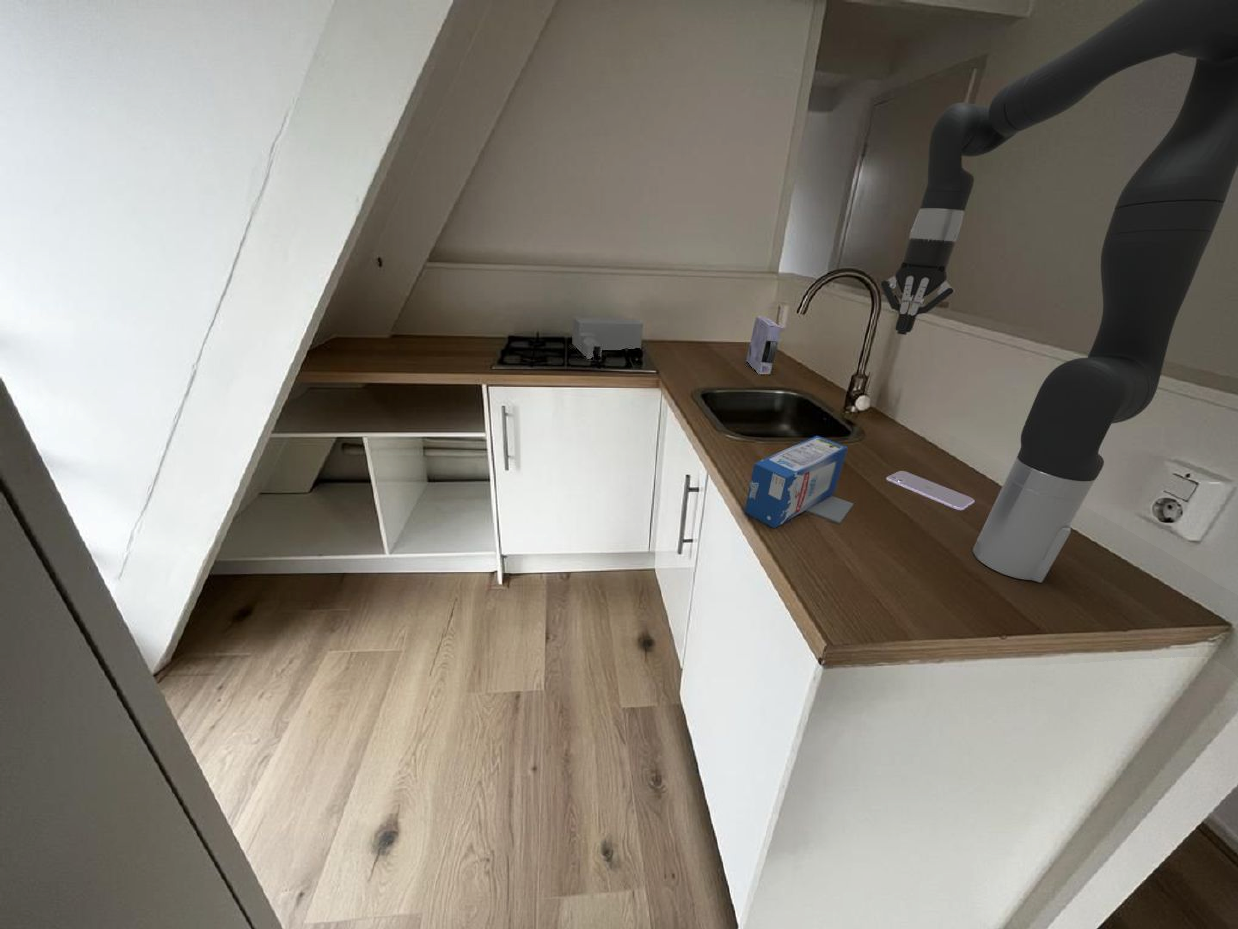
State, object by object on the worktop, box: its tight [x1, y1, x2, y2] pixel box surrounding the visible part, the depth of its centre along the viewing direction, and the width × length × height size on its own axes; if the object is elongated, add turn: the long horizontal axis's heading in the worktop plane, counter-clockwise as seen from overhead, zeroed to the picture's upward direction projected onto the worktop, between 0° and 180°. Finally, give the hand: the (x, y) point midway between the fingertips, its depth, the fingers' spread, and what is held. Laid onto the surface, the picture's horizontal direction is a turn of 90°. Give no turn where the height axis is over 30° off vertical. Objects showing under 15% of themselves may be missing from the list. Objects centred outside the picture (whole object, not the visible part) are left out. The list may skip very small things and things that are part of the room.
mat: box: [804, 495, 854, 525], centre depth 92 cm, size 12×9×1 cm
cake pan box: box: [745, 315, 782, 375], centre depth 177 cm, size 19×5×18 cm, turn 0°
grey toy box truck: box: [571, 316, 644, 360], centre depth 187 cm, size 25×23×11 cm
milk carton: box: [744, 435, 848, 529], centre depth 89 cm, size 10×6×20 cm
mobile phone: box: [885, 470, 975, 511], centre depth 101 cm, size 8×1×15 cm
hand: (901, 333), depth 97 cm, fingers closed
